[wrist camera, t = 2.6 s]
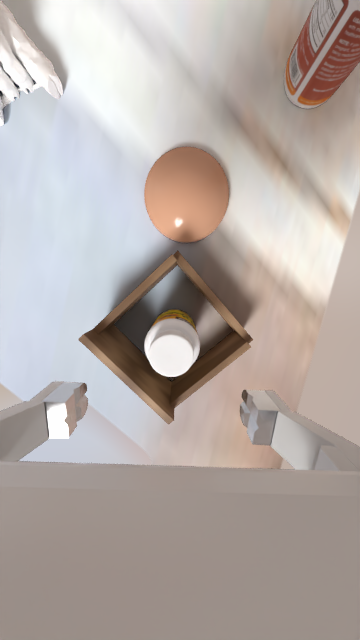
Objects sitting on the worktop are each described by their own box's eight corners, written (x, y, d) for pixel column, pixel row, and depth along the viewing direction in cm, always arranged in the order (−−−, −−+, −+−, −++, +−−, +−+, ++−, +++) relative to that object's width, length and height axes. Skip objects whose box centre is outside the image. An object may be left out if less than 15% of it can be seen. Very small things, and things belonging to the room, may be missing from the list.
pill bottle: (349, 69, 20) (562, -196, 9) (310, 125, 21) (459, -51, 10) (307, 27, 19) (485, -324, 8) (269, 86, 20) (381, -153, 9)
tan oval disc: (243, 203, 22) (246, 200, 21) (183, 259, 23) (183, 258, 23) (190, 130, 21) (190, 124, 20) (128, 195, 22) (126, 192, 21)
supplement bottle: (198, 312, 25) (211, 332, 15) (188, 349, 26) (195, 391, 16) (158, 303, 25) (144, 318, 15) (151, 341, 26) (133, 379, 16)
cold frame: (241, 331, 25) (265, 348, 19) (171, 388, 27) (168, 424, 20) (177, 255, 23) (177, 244, 16) (105, 323, 25) (78, 339, 18)
